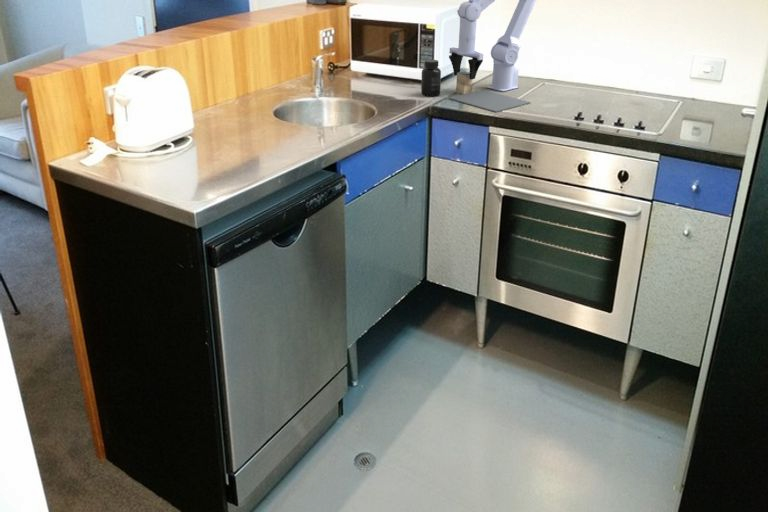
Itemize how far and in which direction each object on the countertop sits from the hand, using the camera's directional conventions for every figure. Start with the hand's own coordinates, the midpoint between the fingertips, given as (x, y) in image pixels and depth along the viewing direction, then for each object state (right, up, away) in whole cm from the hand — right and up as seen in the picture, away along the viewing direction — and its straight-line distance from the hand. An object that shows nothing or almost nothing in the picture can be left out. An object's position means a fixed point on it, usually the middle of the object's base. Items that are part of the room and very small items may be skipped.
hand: (464, 77), depth 256 cm
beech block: (0, -5, +3) cm, 6 cm away
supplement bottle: (-12, -7, -1) cm, 14 cm away
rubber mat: (+8, -10, -8) cm, 15 cm away
